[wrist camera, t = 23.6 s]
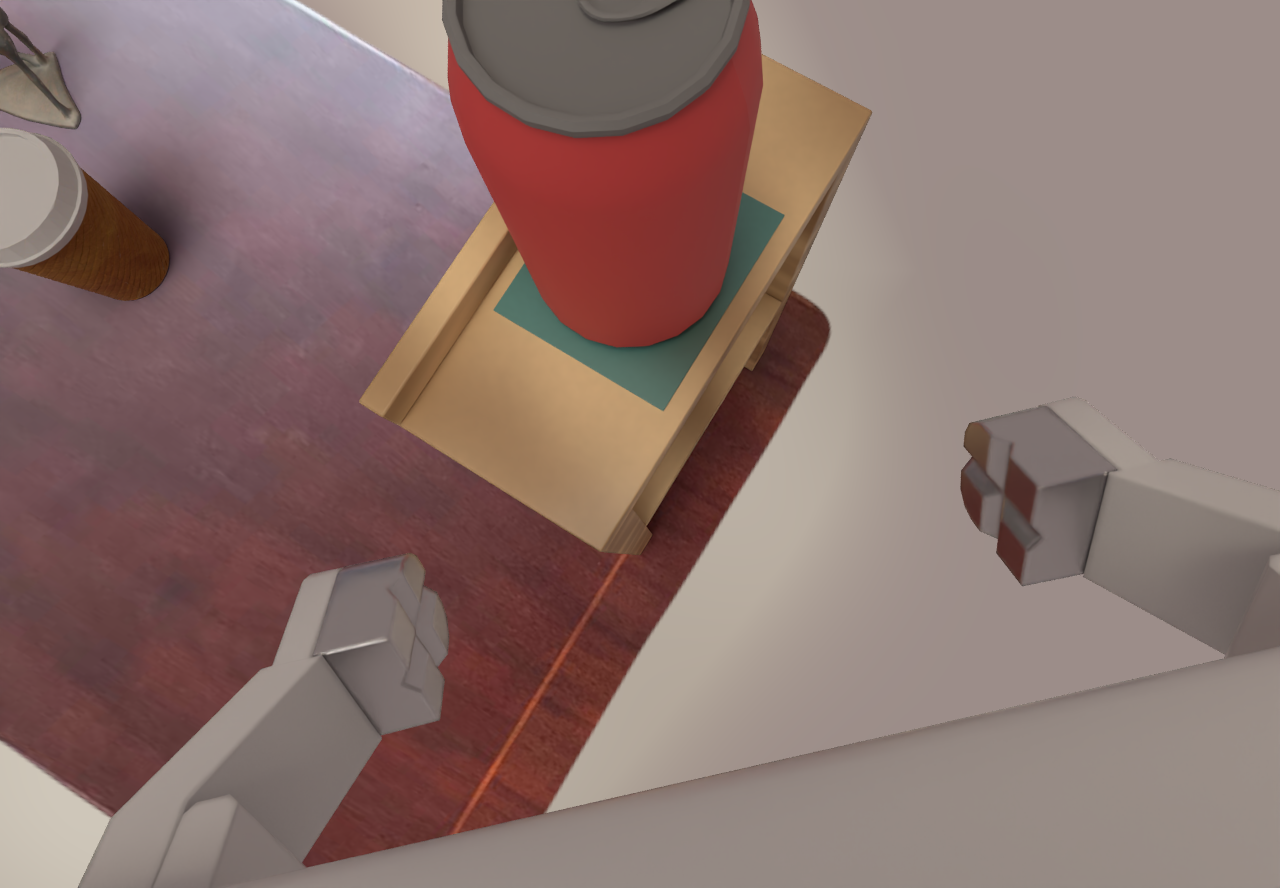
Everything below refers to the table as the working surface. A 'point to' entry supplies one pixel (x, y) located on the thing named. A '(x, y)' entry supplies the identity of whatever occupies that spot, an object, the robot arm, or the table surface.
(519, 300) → the shelf
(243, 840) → the robot arm
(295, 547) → the table surface
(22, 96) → the figurine
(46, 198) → the disposable coffee cup
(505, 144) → the beer can
